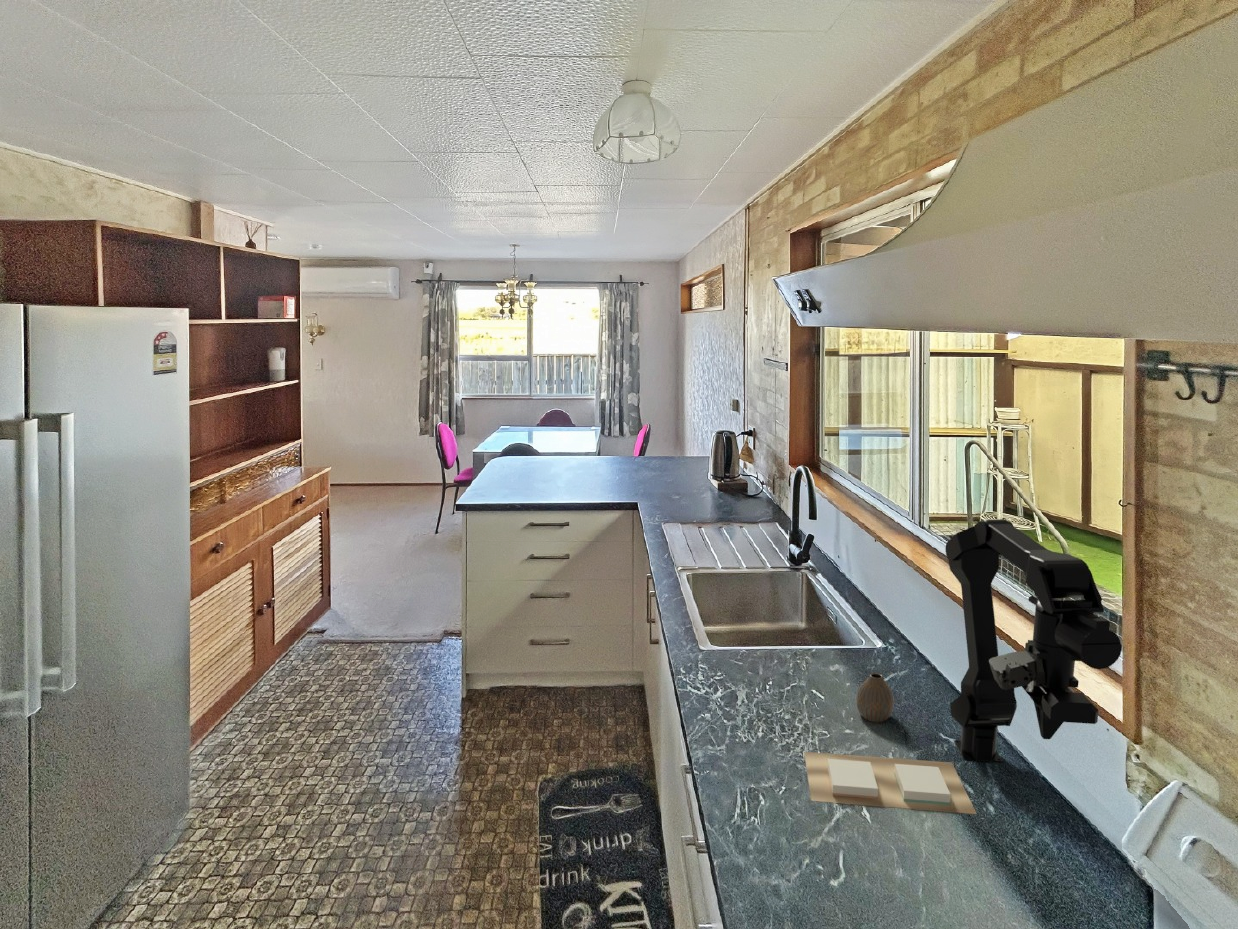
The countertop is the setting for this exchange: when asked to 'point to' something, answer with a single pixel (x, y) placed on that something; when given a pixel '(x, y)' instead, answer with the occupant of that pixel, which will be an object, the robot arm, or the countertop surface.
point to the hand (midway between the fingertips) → (1045, 738)
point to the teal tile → (921, 784)
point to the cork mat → (885, 783)
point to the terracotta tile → (852, 778)
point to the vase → (875, 699)
